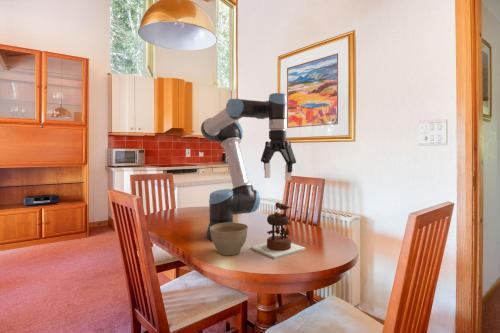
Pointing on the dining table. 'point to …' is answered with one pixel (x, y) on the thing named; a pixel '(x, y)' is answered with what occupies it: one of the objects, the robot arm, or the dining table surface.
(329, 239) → the dining table surface
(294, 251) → the board
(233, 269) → the dining table surface
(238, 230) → the planter bowl
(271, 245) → the music box
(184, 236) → the dining table surface
